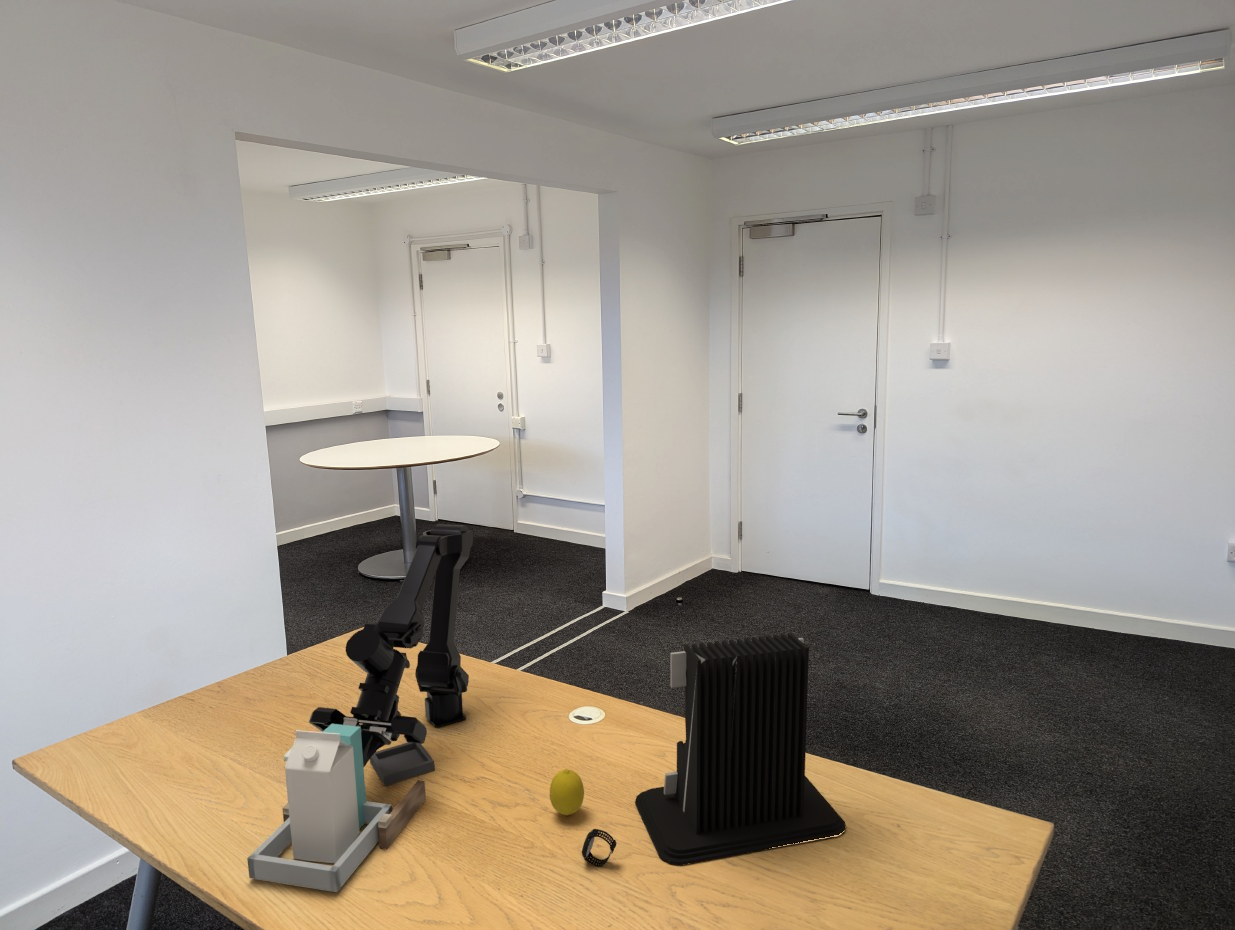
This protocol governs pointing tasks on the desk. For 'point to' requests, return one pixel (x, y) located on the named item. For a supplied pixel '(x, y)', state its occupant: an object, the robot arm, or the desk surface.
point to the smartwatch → (589, 843)
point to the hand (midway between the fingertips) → (351, 779)
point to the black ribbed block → (739, 755)
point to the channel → (394, 814)
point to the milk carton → (321, 796)
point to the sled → (333, 877)
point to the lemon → (566, 792)
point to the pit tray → (401, 762)
